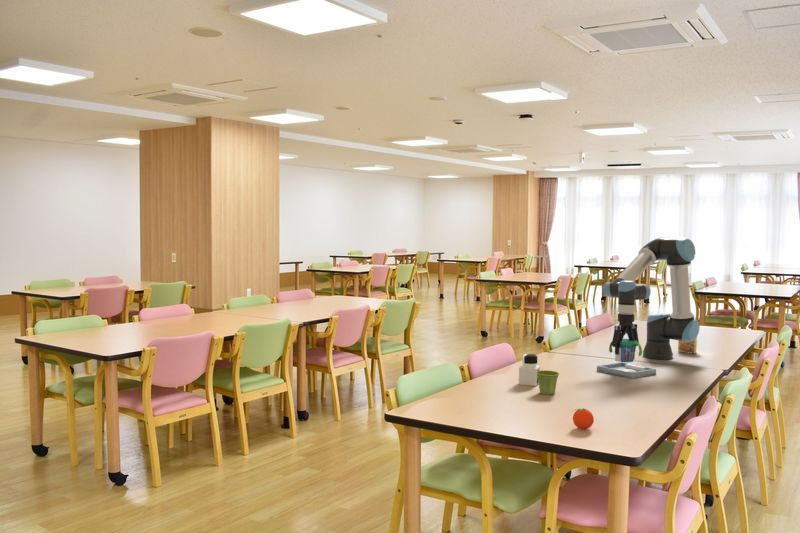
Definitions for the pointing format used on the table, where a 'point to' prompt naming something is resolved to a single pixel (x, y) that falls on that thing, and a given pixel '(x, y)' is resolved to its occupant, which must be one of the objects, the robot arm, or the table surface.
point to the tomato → (583, 418)
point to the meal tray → (626, 370)
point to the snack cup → (628, 349)
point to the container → (529, 370)
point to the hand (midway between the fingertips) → (625, 360)
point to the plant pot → (547, 381)
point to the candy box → (687, 346)
